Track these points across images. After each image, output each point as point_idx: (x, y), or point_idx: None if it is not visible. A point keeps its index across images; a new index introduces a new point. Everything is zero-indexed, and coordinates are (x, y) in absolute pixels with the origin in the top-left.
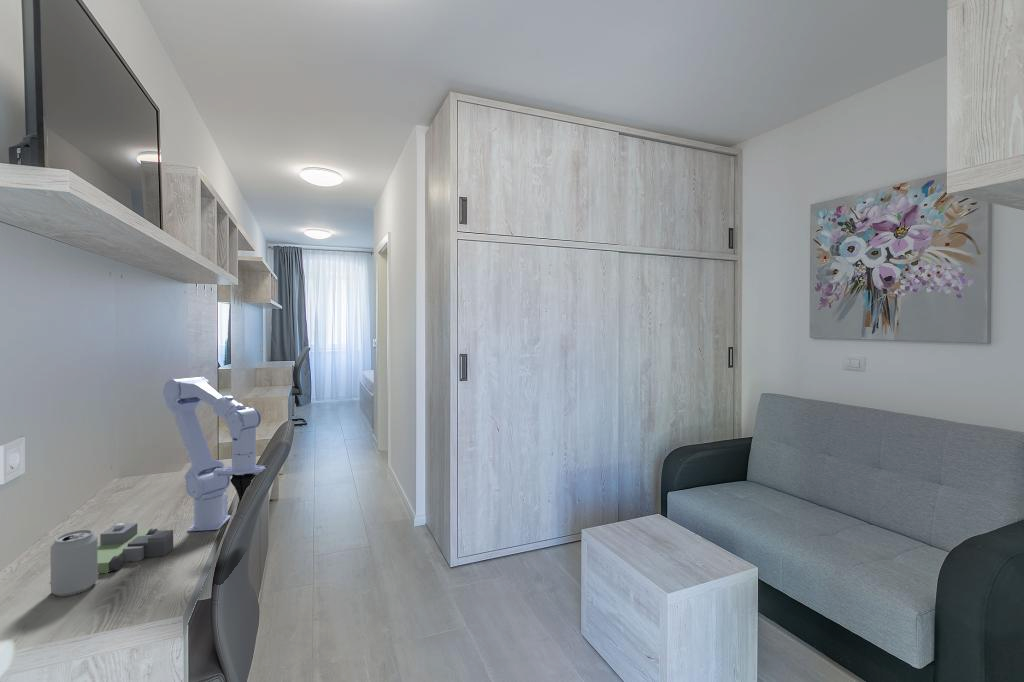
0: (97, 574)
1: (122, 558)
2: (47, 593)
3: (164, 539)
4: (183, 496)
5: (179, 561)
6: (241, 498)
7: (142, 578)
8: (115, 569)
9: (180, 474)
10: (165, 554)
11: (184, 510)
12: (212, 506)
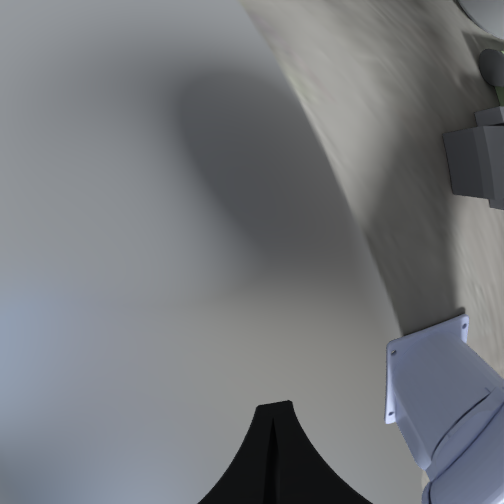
0: (474, 6)
1: (499, 77)
2: None
3: (477, 129)
4: None
5: (371, 92)
6: (276, 417)
7: (390, 9)
8: (480, 55)
9: None
10: (445, 143)
11: None
12: (445, 393)
